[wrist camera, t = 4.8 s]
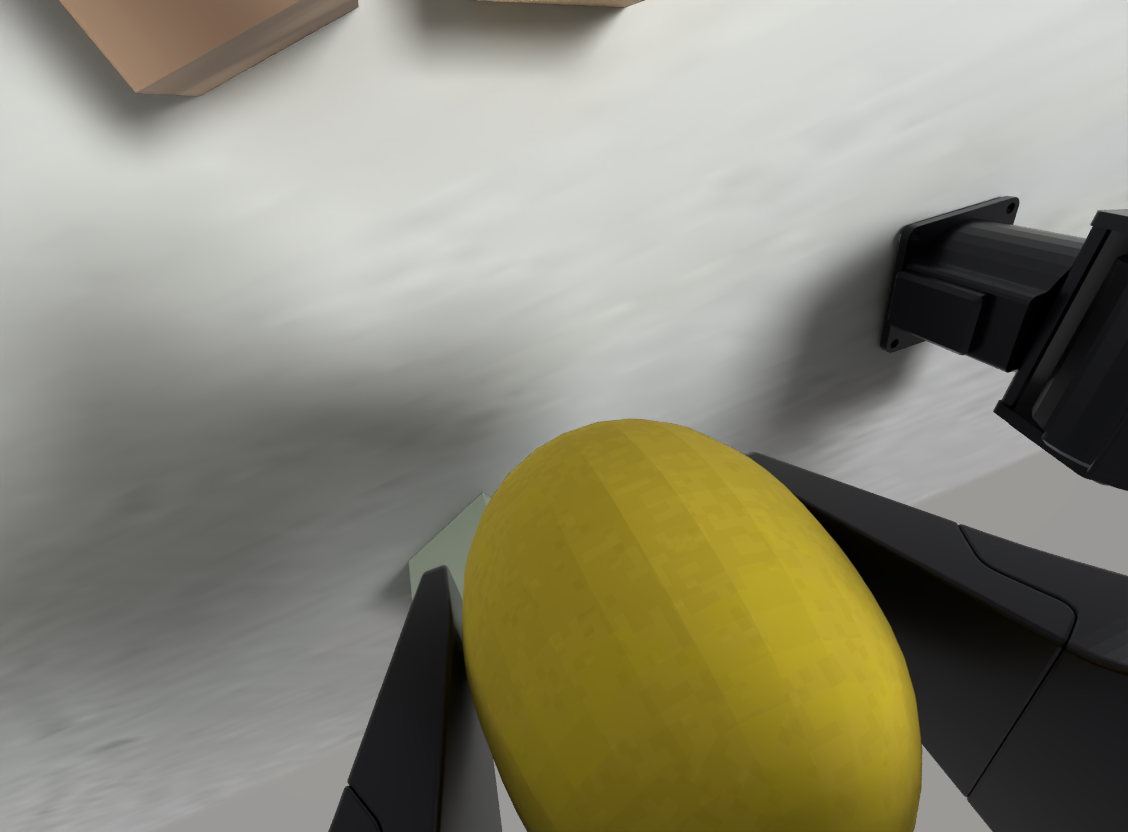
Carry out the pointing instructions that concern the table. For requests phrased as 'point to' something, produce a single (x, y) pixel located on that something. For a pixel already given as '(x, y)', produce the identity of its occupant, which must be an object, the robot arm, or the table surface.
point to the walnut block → (196, 37)
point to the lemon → (680, 647)
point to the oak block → (579, 2)
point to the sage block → (450, 546)
